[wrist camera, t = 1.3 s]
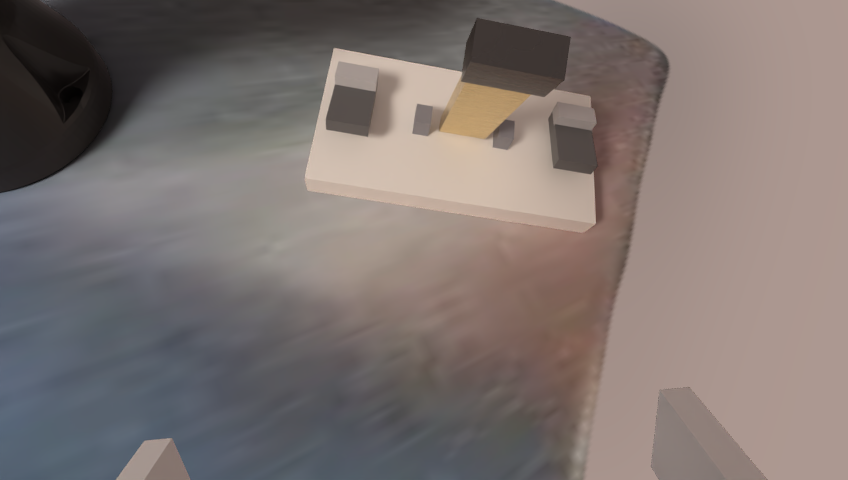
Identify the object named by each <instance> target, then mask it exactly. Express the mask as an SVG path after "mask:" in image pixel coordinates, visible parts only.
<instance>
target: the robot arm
mask: <svg viewBox="0 0 848 480" xmlns="http://www.w3.org/2000/svg"><path fill="white" fill-rule="evenodd" d="M111 99H112V84H111V78H110V75H109V72H108V69H107V67H106V65H105V63H104V61H103V60H102V58H101V57H100V55H99V54H98V53H97V52H96V50H95V49H94V48H93V46H92V45H91V44H90V42H89V41H88V40H87V39H86V37H85V36H84V35H83V34H82V33H81V32H80V31H79V30H78V29H77V28H76V27H75V26H74V25H73V24H72V23H71V22H70V21H68V20H67V19H66V18H64V17H63V16H62V15H60V14H59V13H57V12H56V11H55V10H53V9H52V8H50V7H49V6H47V5H46V4H45V3H43V2H42V1H40V0H0V192H3V191H8V190H12V189H15V188H19V187H22V186H25V185H28V184H30V183H33V182H36V181H38V180H40V179H42V178H44V177H46V176H48V175H50V174H52V173H54V172H56V171H57V170H59V169H61V168H62V167H64V166H65V165H67V164H68V163H69V162H71V161H72V160H73V159H75V158H76V157H77V156H78V155H79V154H80V153H81V152H82V151H83V150H85V149H86V148H87V146H88V145H89V144H90V143H91V142H92V141H93V139H94V138H95V137H96V136H97V134H98V133H99V131H100V129H101V128H102V126H103V124H104V122H105V120H106V118H107V115H108V112H109V109H110V105H111ZM651 467H652V469H653V471H654V472H655V474H656V476H657V477H658V479H659V480H767V479H766V477H765V476H764V475H763V474H762V473H761V471H760V470H759V469H758V468H757V467H756V466H755V464H754V463H753V462H752V461H751V460H750V458H749V457H748V456H747V455H746V454H745V453H744V451H743V450H742V449H741V448H740V447H739V445H738V444H737V443H736V442H735V441H734V440H733V438H732V437H731V436H730V435H729V434H728V432H727V431H726V430H725V429H724V428H723V427H722V425H721V424H720V423H719V422H718V421H717V419H716V418H715V417H714V416H713V415H712V413H711V412H710V411H709V410H708V409H707V408H706V406H705V405H704V404H703V403H702V402H701V400H700V399H699V398H698V397H697V396H696V395H695V393H694V392H693V391H692V390H691V389H690V387H686V388H675V389H665V390H660V392H659V400H658V409H657V418H656V426H655V435H654V444H653V454H652V462H651ZM116 480H190V478H189V475H188V473H187V471H186V469H185V466H184V464H183V462H182V460H181V457H180V455H179V453H178V451H177V448H176V446H175V444H174V442H173V440H172V438H168V439H158V440H147V441H144V442H143V444H142V445H141V446H140V448H139V449H138V450H137V452H136V453H135V454H134V456H133V457H132V459H131V460H130V461H129V463H128V464H127V465H126V467H125V468H124V469H123V471H122V472H121V473H120V475H119V476H118V478H117V479H116Z"/></svg>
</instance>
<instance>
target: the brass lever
mask: <svg viewBox="0 0 848 480" xmlns="http://www.w3.org/2000/svg"><path fill="white" fill-rule="evenodd" d="M569 44H570V37H569V36H564V35H559V34H554V33H549V32H544V31H539V30H534V29H529V28H524V27H519V26H514V25H509V24H504V23H499V22H494V21H489V20H484V19H479V18H477V19H476V22H475V24H474V26H473V28H472V31H471V33H470V35H469V38H468V40H467V42H466V49H465V56H464V62H463V69H462V75H461V77H460V79H459V81H458V83H457V85H456V87H455V89H454V91H453V93H452V95H451V98H450V100H449V102H448V104H447V106H446V108H445V110H444V112H443V114H442V116H441V119H440V125H439V131H440V132H446V133H452V134H457V135H463V136H469V137H475V138H480V139H485V138H487V137H488V136H489V135H490V134H491V133H492V132H493V131H494V130H495V129H496V128H497V127H498V126H499V125H500V124H501V123H502V122H503V121H504V120H505V119H506V118H507V117H508V116H509V115H511V114H512V113H513V112H514V111H515V110H516V109H517V108H518V107H519V106H520V105H521V104H522V103H523V102H524V101H525V100H526V99H527V98H528V97H529V96H530V95H535V96H541V97H545V96H546V95H548V94H549V93H550V92H551V91H552V90H553V89H555V88H556V87H557V86H558V85H559V84H560V83H561V82H563V81H564V79H565V72H566V65H567V58H568V51H569Z"/></svg>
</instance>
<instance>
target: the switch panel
mask: <svg viewBox="0 0 848 480" xmlns="http://www.w3.org/2000/svg"><path fill="white" fill-rule="evenodd" d="M339 61H341V62H346V63H352V64H357V65H362V66H368V67H373V68H379V75H378V87H377V93H376V98H375V103H374V108H373V114H372V119H371V124H370V129H369V134H368V137H366V136H360V135H355V134H349V133H343V132H337V131H331V130H326V116H327V112H328V109H329V105H330V101H331V97H332V94H333V90H334V86H335V73H336V69H337V65H338V62H339ZM461 75H462V72H460V71H454V70H449V69H444V68H438V67H433V66H428V65H422V64H417V63H412V62H406V61H401V60H396V59H390V58H385V57H380V56H374V55H369V54H364V53H359V52H353V51H348V50H343V49H337V48H334V50H333V54H332V59H331V63H330V68H329V72H328V76H327V81H326V85H325V90H324V94H323V99H322V103H321V107H320V112H319V116H318V121H317V125H316V129H315V134H314V138H313V143H312V147H311V152H310V156H309V160H308V165H307V169H306V174H305V182H306V186H307V190H308V191H314V192H320V193H327V194H333V195H340V196H346V197H353V198H359V199H366V200H372V201H378V202H385V203H391V204H398V205H404V206H411V207H417V208H424V209H430V210H437V211H443V212H450V213H456V214H463V215H469V216H476V217H482V218H488V219H495V220H501V221H508V222H514V223H521V224H527V225H534V226H540V227H547V228H553V229H560V230H566V231H573V232H579V233H584V232H585V231H587V230H588V229H590V228H591V227H592V226H594V225H595V224H596V213H595V189H594V171H593V172H592V174H585V173H579V172H573V171H567V170H562V169H556V168H553V162H552V152H551V142H550V132H549V121H548V118H549V116H550V115H551V113H552V111H553V109H554V107H555V106H556V104H557V102H562V103H567V104H573V105H578V106H584V107H589V108H591V96H587V95H582V94H576V93H571V92H566V91H560V90H555V89H553V90H552V91H551V92H550V93H549V94H548V95H546V96H545V97H541V96H535V95H530V96H529V97H528V98H527V99H526V100H525V101H524V102H523V103H522V104H521V105H520V106H519V107H518V108H517V109H516V110H515V111H514V112H513V113H512V114H511V115H509V116H508V117H507V118H506V119H505V120H504V121H503V122H502V123H501V124H500V125H499V126H498V127H497V128H496V129H495V130H494V131H493V132H492V133H491V134H490V135H489V136H488V137H487V138H485V139H480V138H475V137H469V136H463V135H457V134H452V133H446V132H440V131H439V125H440V119H441V116H442V114H443V112H444V110H445V108H446V106H447V104H448V102H449V100H450V98H451V95H452V93H453V91H454V89H455V87H456V85H457V83H458V81H459V79H460V77H461Z"/></svg>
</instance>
